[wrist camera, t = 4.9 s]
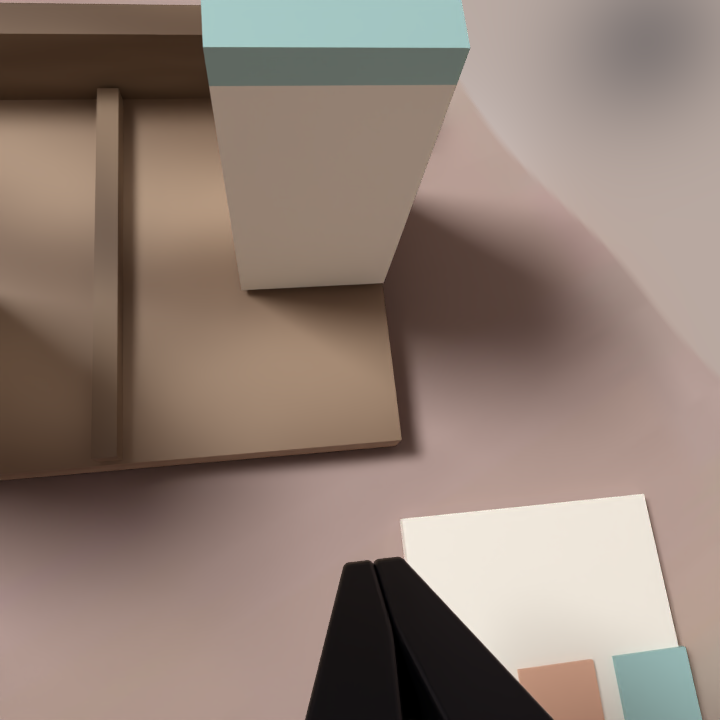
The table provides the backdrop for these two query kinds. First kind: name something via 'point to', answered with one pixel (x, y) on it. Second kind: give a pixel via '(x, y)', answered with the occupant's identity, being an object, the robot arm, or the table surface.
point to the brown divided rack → (152, 269)
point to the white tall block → (326, 128)
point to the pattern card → (564, 603)
